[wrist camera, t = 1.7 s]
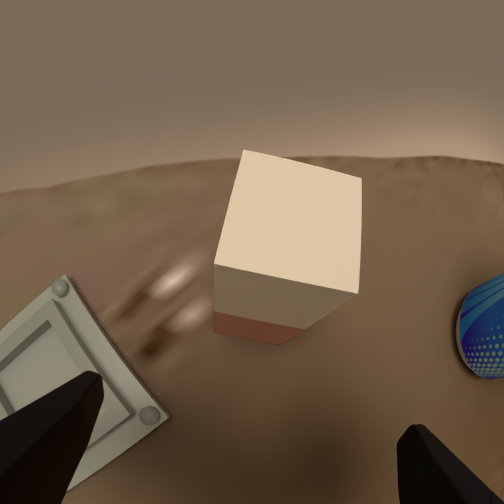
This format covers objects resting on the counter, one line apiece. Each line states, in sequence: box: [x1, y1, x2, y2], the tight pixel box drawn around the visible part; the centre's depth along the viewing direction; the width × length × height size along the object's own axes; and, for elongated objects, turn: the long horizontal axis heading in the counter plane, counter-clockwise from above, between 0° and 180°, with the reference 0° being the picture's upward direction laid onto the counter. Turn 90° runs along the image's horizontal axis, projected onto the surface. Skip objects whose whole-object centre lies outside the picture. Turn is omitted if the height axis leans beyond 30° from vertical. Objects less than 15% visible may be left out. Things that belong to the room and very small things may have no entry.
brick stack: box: [214, 150, 362, 345], centre depth 16 cm, size 4×4×12 cm
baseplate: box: [0, 274, 170, 491], centre depth 16 cm, size 12×12×2 cm
